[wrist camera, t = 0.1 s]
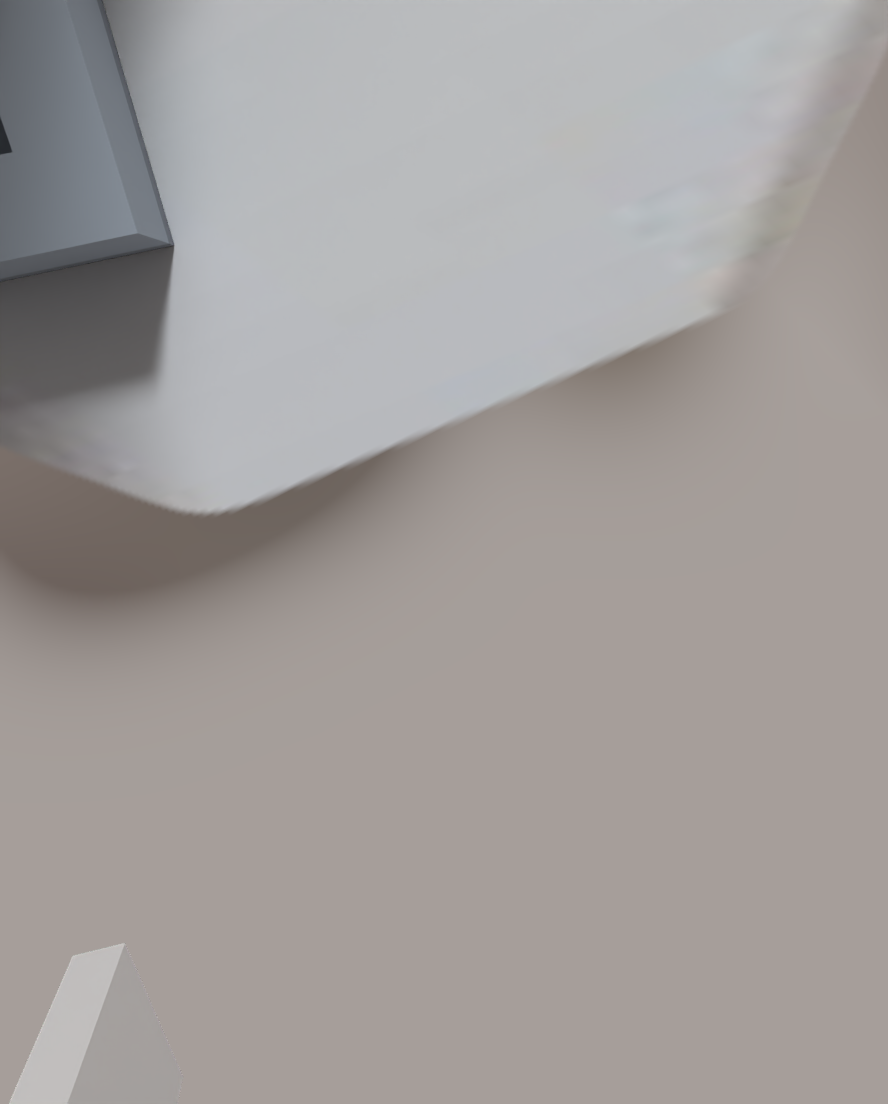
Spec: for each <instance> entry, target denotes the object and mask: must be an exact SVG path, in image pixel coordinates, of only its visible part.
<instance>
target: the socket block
mask: <svg viewBox="0 0 888 1104" xmlns="http://www.w3.org/2000/svg"><path fill="white" fill-rule="evenodd" d="M173 245H174V242H173V239H172V236H171V232H170V229H169V225H168V222H167V219H166V215H165V212H164V209H163V205H162V202H161V198H160V195H159V192H158V188H157V185H156V181H155V178H154V175H153V171H152V168H151V164H150V161H149V158H148V154H147V151H146V147H145V144H144V141H143V137H142V134H141V130H140V127H139V124H138V120H137V117H136V114H135V110H134V107H133V103H132V100H131V97H130V93H129V90H128V86H127V83H126V80H125V76H124V73H123V69H122V66H121V63H120V59H119V56H118V52H117V49H116V46H115V42H114V39H113V36H112V32H111V29H110V25H109V22H108V19H107V15H106V12H105V8H104V5H103V2H102V0H0V282H1V281H6V280H11V279H15V278H20V277H25V276H30V275H35V274H39V273H44V272H49V271H54V270H59V269H63V268H68V267H73V266H78V265H82V264H87V263H92V262H97V261H102V260H106V259H111V258H116V257H121V256H125V255H130V254H135V253H140V252H145V251H149V250H154V249H159V248H164V247H169V246H173Z"/></svg>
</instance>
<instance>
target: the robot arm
mask: <svg viewBox="0 0 888 1104" xmlns="http://www.w3.org/2000/svg"><path fill="white" fill-rule="evenodd" d="M182 1081H183V1075H182V1073H181V1070H180V1068H179V1066H178V1064H177V1061H176V1059H175V1057H174V1054H173V1052H172V1050H171V1048H170V1045H169V1043H168V1041H167V1038H166V1036H165V1034H164V1031H163V1029H162V1027H161V1024H160V1022H159V1020H158V1018H157V1015H156V1013H155V1011H154V1008H153V1006H152V1004H151V1001H150V999H149V997H148V994H147V992H146V990H145V988H144V985H143V983H142V981H141V978H140V976H139V974H138V971H137V970H136V967H135V965H134V962H133V960H132V958H131V955H130V953H129V951H128V948H127V946H126V944H125V943H123V944H119V945H115V946H111V947H107V948H103V949H99V950H94V951H90V952H87V953H82V954H79V955H74V956H72V959H71V961H70V963H69V966H68V968H67V970H66V973H65V975H64V977H63V980H62V982H61V984H60V987H59V989H58V991H57V994H56V996H55V998H54V1000H53V1003H52V1005H51V1007H50V1010H49V1012H48V1014H47V1017H46V1019H45V1021H44V1023H43V1026H42V1028H41V1030H40V1033H39V1035H38V1038H37V1040H36V1042H35V1044H34V1047H33V1049H32V1051H31V1054H30V1056H29V1058H28V1060H27V1063H26V1065H25V1067H24V1070H23V1072H22V1074H21V1077H20V1079H19V1081H18V1084H17V1086H16V1088H15V1090H14V1093H13V1095H12V1097H11V1100H10V1102H9V1104H177V1103H178V1099H179V1094H180V1090H181V1085H182Z"/></svg>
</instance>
